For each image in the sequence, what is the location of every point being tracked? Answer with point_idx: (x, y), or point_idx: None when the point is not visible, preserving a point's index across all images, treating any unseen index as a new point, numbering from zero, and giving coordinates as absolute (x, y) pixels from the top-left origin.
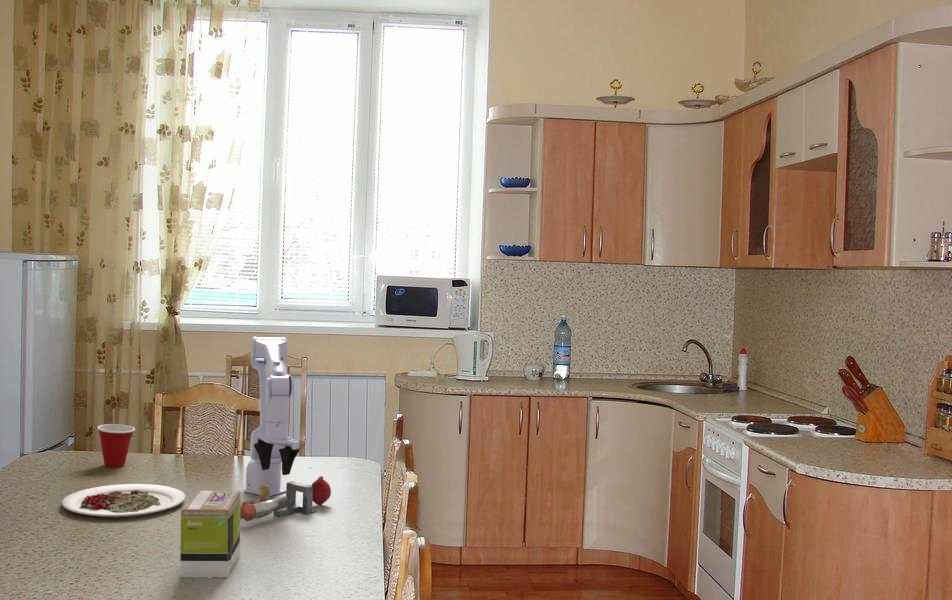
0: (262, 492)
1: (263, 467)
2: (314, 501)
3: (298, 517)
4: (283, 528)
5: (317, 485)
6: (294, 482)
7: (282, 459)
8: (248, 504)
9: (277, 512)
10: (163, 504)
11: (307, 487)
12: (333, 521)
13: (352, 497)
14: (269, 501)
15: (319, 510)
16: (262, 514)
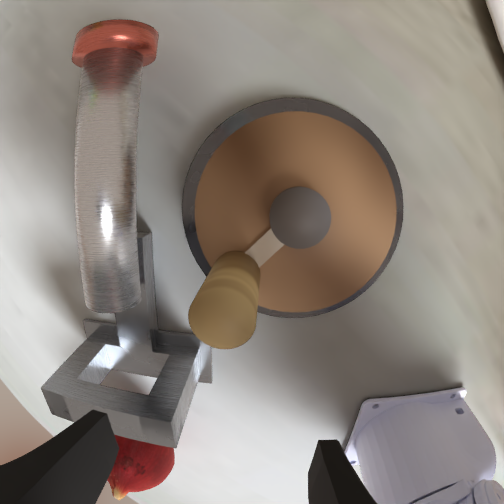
0: (218, 275)
1: (321, 456)
2: None
3: (80, 279)
4: (32, 144)
5: None
6: (146, 436)
7: (19, 479)
8: (87, 28)
9: None
10: None
11: (42, 388)
12: (7, 306)
13: (159, 489)
14: (80, 181)
15: (105, 381)
16: (188, 203)
